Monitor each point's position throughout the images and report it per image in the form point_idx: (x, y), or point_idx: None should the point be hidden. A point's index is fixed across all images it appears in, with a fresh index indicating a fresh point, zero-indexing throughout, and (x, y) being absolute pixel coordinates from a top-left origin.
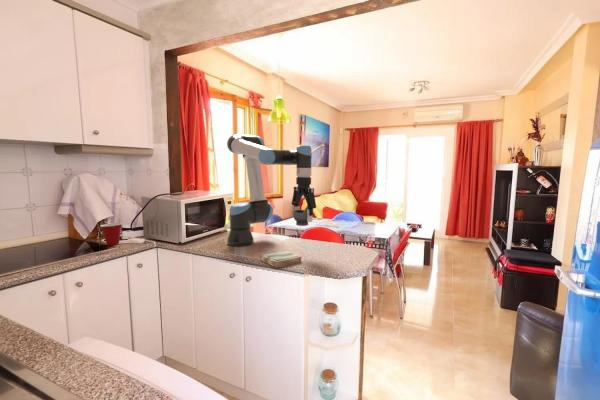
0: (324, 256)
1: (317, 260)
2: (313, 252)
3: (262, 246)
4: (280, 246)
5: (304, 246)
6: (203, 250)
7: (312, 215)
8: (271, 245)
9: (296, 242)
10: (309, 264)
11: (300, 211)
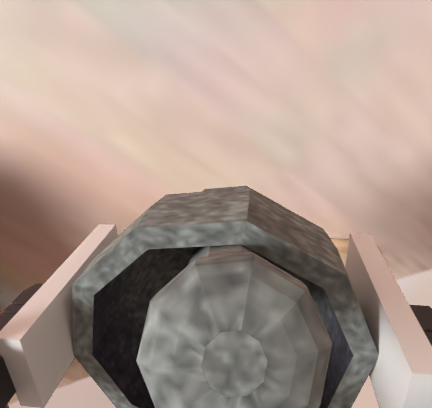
0: (382, 76)
1: (402, 162)
2: (270, 78)
3: (27, 235)
4: (62, 164)
5: (124, 37)
6: (7, 403)
7: (428, 309)
8: (25, 191)
9: (10, 20)
10: (413, 233)
11: (102, 291)
